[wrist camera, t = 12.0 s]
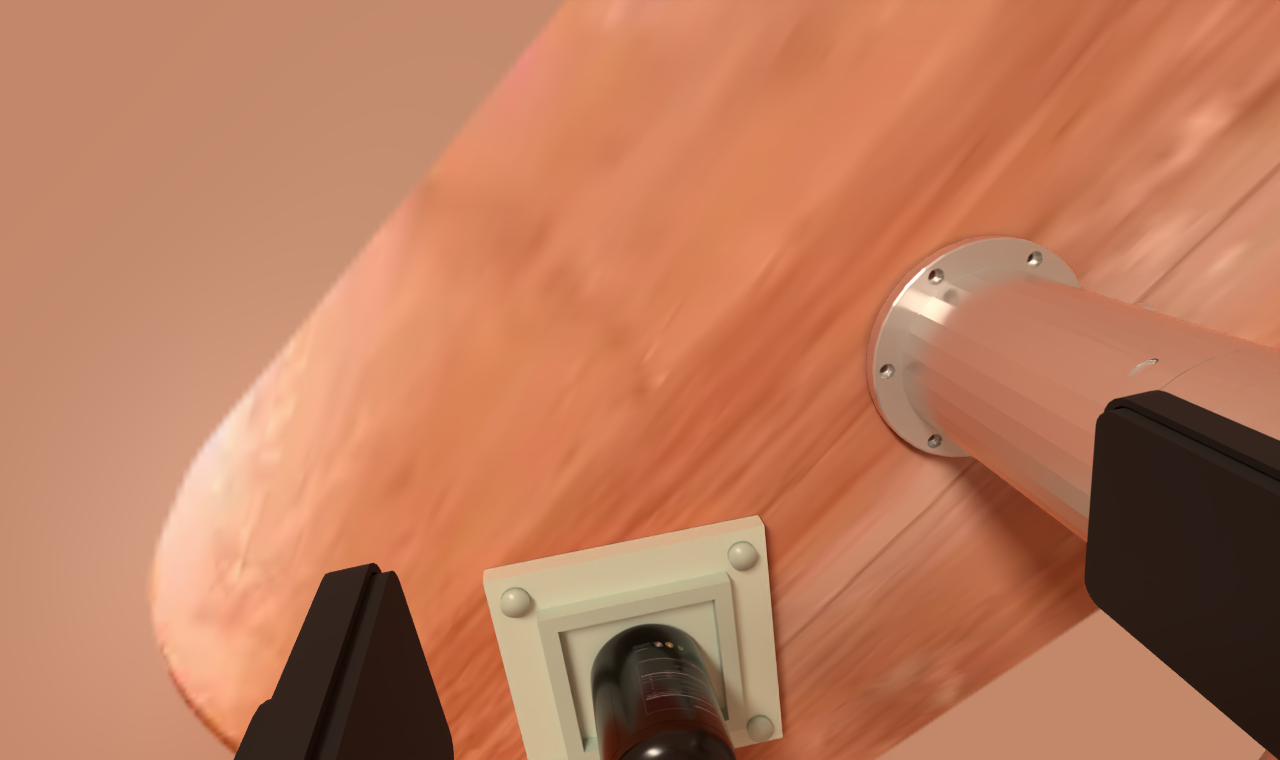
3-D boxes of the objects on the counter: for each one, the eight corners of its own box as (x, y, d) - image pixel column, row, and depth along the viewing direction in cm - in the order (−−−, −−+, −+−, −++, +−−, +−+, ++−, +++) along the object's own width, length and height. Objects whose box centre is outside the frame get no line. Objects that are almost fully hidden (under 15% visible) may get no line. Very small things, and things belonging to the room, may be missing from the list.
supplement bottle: (683, 717, 45) (734, 912, 34) (577, 704, 44) (593, 904, 33) (717, 626, 43) (782, 802, 32) (606, 609, 42) (635, 788, 31)
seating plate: (758, 514, 43) (769, 534, 41) (776, 723, 48) (788, 749, 46) (484, 569, 41) (481, 593, 39) (536, 778, 47) (536, 808, 45)
